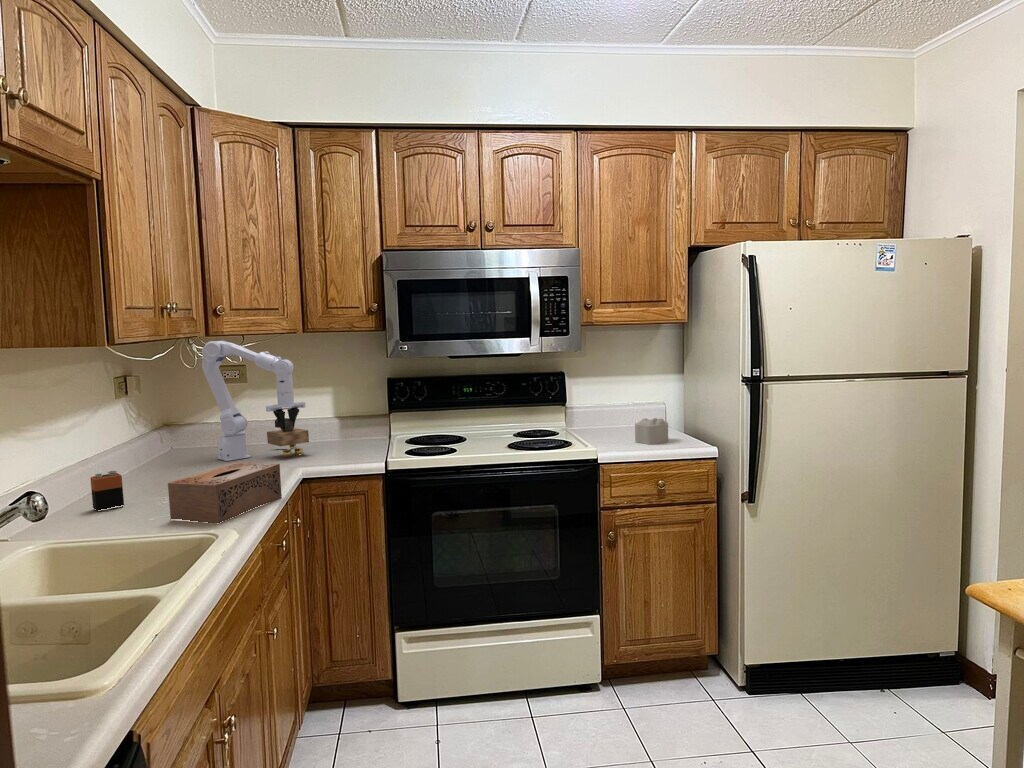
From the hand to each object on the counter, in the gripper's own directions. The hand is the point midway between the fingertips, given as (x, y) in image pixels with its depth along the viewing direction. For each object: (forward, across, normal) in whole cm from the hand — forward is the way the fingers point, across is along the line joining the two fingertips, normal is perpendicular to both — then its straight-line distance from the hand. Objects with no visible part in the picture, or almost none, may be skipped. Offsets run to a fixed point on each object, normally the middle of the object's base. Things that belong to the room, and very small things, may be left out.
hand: (287, 428), depth 259 cm
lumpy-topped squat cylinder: (+10, +103, -90) cm, 137 cm away
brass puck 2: (+10, +4, 0) cm, 11 cm away
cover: (+5, 0, 0) cm, 5 cm away
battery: (+11, -67, -31) cm, 75 cm away
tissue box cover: (+11, -45, -59) cm, 75 cm away
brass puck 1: (+10, 0, 0) cm, 11 cm away
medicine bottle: (+11, +7, +18) cm, 22 cm away
